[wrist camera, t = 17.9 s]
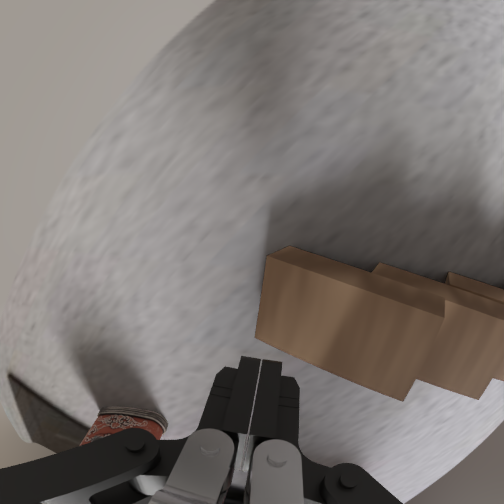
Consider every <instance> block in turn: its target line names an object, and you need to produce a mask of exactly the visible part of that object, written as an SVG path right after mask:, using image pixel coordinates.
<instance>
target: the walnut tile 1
mask: <svg viewBox="0 0 504 504" xmlns="http://www.w3.org/2000/svg"><path fill="white" fill-rule="evenodd" d="M444 318H445V298H444V297H441V296H438V295H436V294H433V293H430V292H427V291H424V290H421V289H418V288H415V287H412V286H409V285H406V284H404V283H401V282H398V281H395V280H392V279H389V278H386V277H383V276H380V275H377V274H374V273H371V272H368V271H365V270H362V269H359V268H356V267H353V266H350V265H347V264H344V263H341V262H338V261H335V260H332V259H329V258H326V257H323V256H320V255H316V254H313V253H310V252H307V251H304V250H301V249H298V248H295V247H292V246H288V247H285V248H283V249H281V250H279V251H276V252H274V253H272V254H270V255H267V258H266V265H265V272H264V279H263V286H262V292H261V299H260V306H259V312H258V319H257V325H256V332H255V338H256V339H259V340H261V341H263V342H265V343H267V344H269V345H271V346H273V347H275V348H277V349H279V350H281V351H284V352H286V353H288V354H290V355H292V356H294V357H296V358H299V359H301V360H303V361H305V362H307V363H310V364H312V365H314V366H316V367H319V368H321V369H323V370H326V371H328V372H330V373H332V374H335V375H337V376H340V377H342V378H344V379H347V380H349V381H351V382H354V383H356V384H359V385H361V386H364V387H366V388H369V389H371V390H374V391H376V392H379V393H381V394H384V395H387V396H389V397H392V398H394V399H397V400H400V401H404V399H405V397H406V396H407V394H408V392H409V390H410V389H411V387H412V385H413V383H414V381H415V379H416V378H417V376H418V374H419V372H420V370H421V368H422V366H423V364H424V362H425V360H426V358H427V356H428V354H429V352H430V350H431V348H432V345H433V343H434V341H435V339H436V337H437V334H438V332H439V330H440V328H441V325H442V323H443V321H444Z"/></svg>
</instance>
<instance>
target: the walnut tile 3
mask: <svg viewBox="0 0 504 504" xmlns="http://www.w3.org/2000/svg"><path fill="white" fill-rule="evenodd" d="M445 284H447V285H449V286H452V287H455V288H458V289H461V290H464V291H467V292H470V293H473V294H475V295H478V296H481V297H484V298H487V299H490V300H492V301H495V302H498V303H501V304H504V289H501V288H498V287H495V286H492V285H489V284H486V283H483V282H480V281H477V280H473V279H470V278H467V277H464V276H461V275H458V274H455V273H452V272H448V275H447V278H446V281H445ZM493 378H495V379H498V380H502V381H504V359H503V361H502V362H501V364H500V366H499V368H498V369H497V371H496V373H495V375H494V376H493Z"/></svg>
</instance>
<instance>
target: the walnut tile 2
mask: <svg viewBox="0 0 504 504" xmlns="http://www.w3.org/2000/svg"><path fill="white" fill-rule="evenodd" d="M371 273H374V274H377V275H380V276H383V277H386V278H389V279H392V280H395V281H398V282H401V283H404V284H406V285H409V286H412V287H415V288H418V289H421V290H424V291H427V292H430V293H433V294H436V295H438V296H441V297H444V298H445V318H444V321H443V323H442V325H441V328H440V330H439V332H438V334H437V337H436V339H435V341H434V343H433V345H432V348H431V350H430V352H429V354H428V356H427V358H426V360H425V362H424V364H423V366H422V368H421V370H420V372H419V374H418V376H417V378H416V379H418V380H421V381H424V382H427V383H429V384H432V385H435V386H438V387H441V388H444V389H447V390H450V391H453V392H456V393H459V394H462V395H465V396H468V397H471V398H474V399H477V400H479V398H480V397H481V395H482V394H483V392H484V391H485V389H486V388H487V386H488V384H489V383H490V381H491V380H492V378H493V376H494V375H495V373H496V371H497V369H498V368H499V366H500V364H501V362H502V361H503V359H504V304H501V303H498V302H495V301H492V300H490V299H487V298H484V297H481V296H478V295H475V294H473V293H470V292H467V291H464V290H461V289H458V288H455V287H452V286H449V285H447V284H444V283H441V282H438V281H435V280H432V279H429V278H426V277H423V276H420V275H417V274H414V273H411V272H408V271H405V270H402V269H399V268H396V267H393V266H389V265H386V264H383V263H380V262H379V264H378V265H377V266H376V267H375V269H374V270H373V271H372V272H371Z"/></svg>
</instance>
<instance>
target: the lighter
mask: <svg viewBox="0 0 504 504" xmlns="http://www.w3.org/2000/svg"><path fill="white" fill-rule="evenodd" d="M97 416H98V418H97V419H96V421H95V423H94V424H93V426H92V427H91V429H90V430H89V432H88V433H87V435H86V436H85V438H84V439H83V441H82V442H81V444H80V446H81V445H84V444H87V443H90V442H93V441H95V440H98V439H101V438H103V437H106V436H109V435H111V434H114V433H116V432H119V431H121V430H124V429H127V428H141V429H144V430H147V431H149V432H150V433H152V434H153V435H154V436H155V438H156V439H157V440H160V438H161V436H162V435H164V433H165V432H166V429H167V427H168V423H167V421H166V419H165V418H164V417H163V416H161V415H160V414H158V413H156V412H153V411H148V410H143V409H138V408H129V407H105V408H101V410H100V411H99V413H98V415H97Z"/></svg>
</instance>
